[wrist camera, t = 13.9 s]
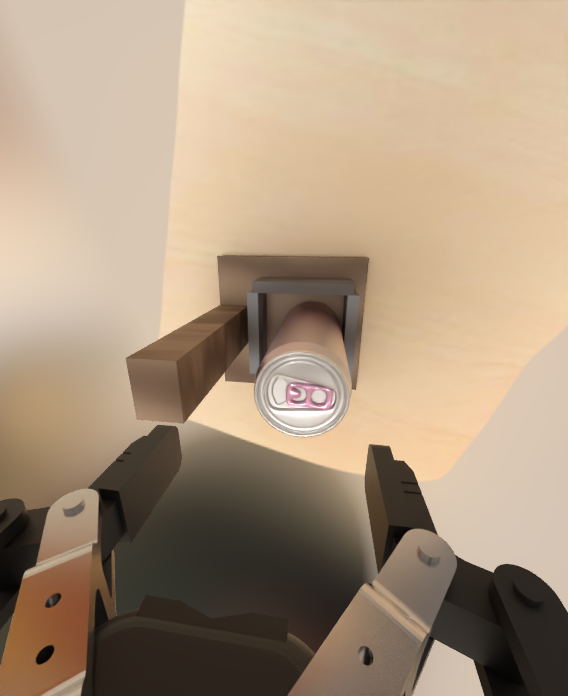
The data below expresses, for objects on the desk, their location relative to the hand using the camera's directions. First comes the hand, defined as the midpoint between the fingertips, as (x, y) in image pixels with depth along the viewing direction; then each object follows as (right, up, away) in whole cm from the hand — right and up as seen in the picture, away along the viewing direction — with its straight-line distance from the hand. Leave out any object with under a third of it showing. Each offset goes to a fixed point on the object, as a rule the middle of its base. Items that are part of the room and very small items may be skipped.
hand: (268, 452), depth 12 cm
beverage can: (+4, +6, +19) cm, 20 cm away
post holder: (+1, +7, +21) cm, 22 cm away
